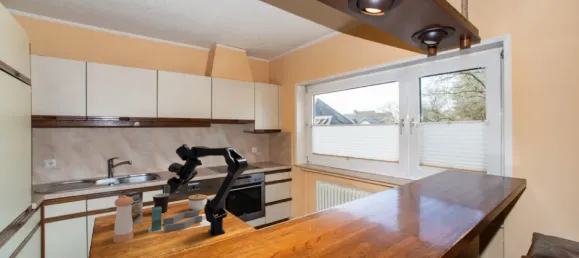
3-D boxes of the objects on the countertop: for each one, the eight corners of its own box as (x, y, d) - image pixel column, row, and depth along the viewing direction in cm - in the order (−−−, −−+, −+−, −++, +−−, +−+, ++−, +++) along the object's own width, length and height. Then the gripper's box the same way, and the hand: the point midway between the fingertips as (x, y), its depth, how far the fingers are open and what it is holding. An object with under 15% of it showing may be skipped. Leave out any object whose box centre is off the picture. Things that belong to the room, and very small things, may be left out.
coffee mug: (154, 210, 147) (154, 193, 147) (170, 209, 150) (170, 192, 150) (149, 217, 136) (149, 199, 136) (166, 215, 139) (167, 197, 139)
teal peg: (161, 229, 119) (161, 208, 119) (151, 231, 117) (152, 209, 117) (160, 226, 122) (161, 206, 122) (151, 228, 120) (151, 207, 120)
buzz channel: (219, 225, 128) (220, 217, 128) (148, 237, 112) (148, 228, 112) (211, 214, 144) (211, 207, 144) (148, 224, 128) (148, 216, 128)
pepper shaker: (111, 239, 108) (112, 195, 108) (131, 234, 113) (132, 192, 113) (115, 245, 103) (116, 198, 103) (135, 239, 108) (136, 195, 108)
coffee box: (126, 228, 120) (127, 195, 121) (116, 226, 122) (117, 193, 123) (142, 222, 129) (143, 191, 129) (133, 220, 131) (134, 189, 131)
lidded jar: (210, 207, 155) (210, 192, 155) (199, 213, 145) (199, 196, 145) (195, 206, 158) (195, 191, 158) (184, 211, 148) (184, 195, 148)
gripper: (186, 152, 135) (174, 173, 139) (164, 163, 117) (151, 188, 121) (203, 164, 135) (190, 185, 139) (183, 177, 117) (169, 201, 121)
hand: (176, 189), depth 130 cm, fingers open, 9 cm apart
